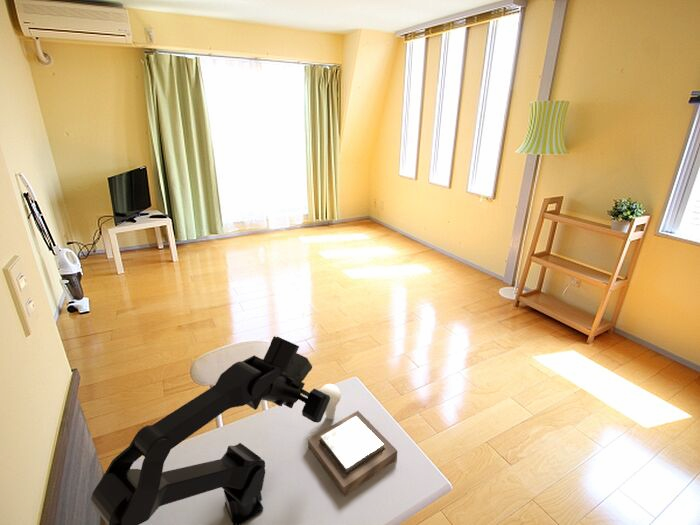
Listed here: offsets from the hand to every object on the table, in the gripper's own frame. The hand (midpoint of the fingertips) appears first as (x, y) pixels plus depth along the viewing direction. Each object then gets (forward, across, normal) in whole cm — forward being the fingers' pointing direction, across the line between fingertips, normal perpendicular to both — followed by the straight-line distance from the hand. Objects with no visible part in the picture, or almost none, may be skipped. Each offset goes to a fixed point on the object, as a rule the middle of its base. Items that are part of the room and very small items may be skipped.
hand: (310, 397), depth 92 cm
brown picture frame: (+10, -12, +8) cm, 18 cm away
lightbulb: (+15, 0, +4) cm, 15 cm away
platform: (+9, -12, +7) cm, 16 cm away
